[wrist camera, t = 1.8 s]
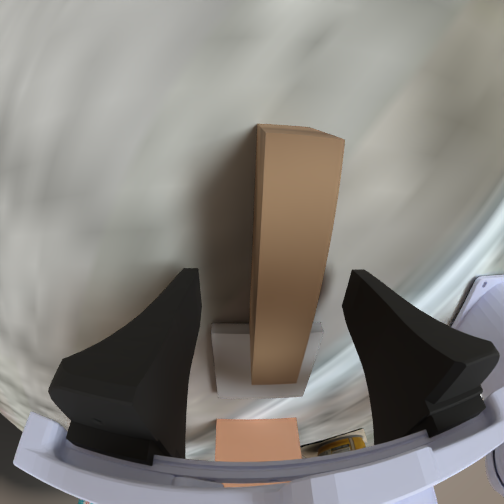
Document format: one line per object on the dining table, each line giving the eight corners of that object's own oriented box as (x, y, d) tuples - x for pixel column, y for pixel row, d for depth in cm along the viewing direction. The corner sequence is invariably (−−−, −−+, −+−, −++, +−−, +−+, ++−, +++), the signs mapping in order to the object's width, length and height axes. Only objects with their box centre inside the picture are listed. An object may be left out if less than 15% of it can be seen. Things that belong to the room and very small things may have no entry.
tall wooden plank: (204, 123, 9) (182, 132, 6) (356, 133, 10) (408, 151, 6) (218, 389, 18) (216, 437, 14) (301, 387, 18) (309, 434, 15)
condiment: (367, 441, 27) (384, 513, 17) (307, 458, 29) (317, 530, 19) (363, 426, 24) (384, 515, 14) (292, 446, 26) (302, 534, 15)
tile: (296, 417, 21) (306, 496, 14) (293, 422, 22) (303, 498, 15) (216, 418, 21) (214, 500, 14) (217, 424, 21) (215, 502, 14)
